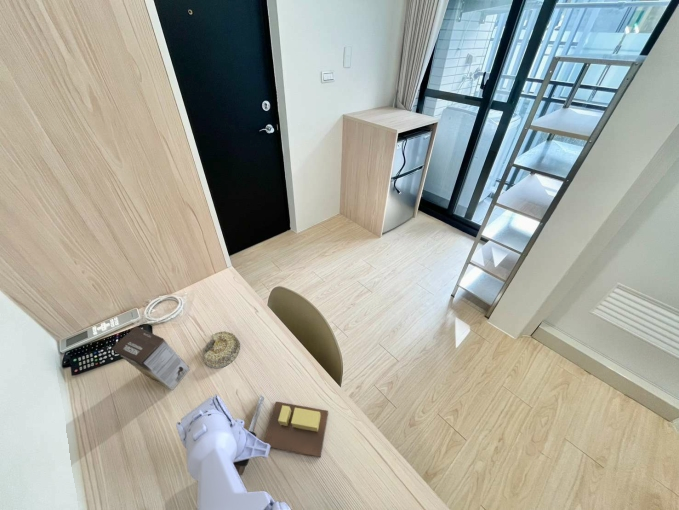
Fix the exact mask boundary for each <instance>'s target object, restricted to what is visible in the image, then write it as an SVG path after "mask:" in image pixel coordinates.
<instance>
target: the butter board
mask: <svg viewBox="0 0 679 510" xmlns="http://www.w3.org/2000/svg"><path fill="white" fill-rule="evenodd" d="M282 405H283V406H289V407H290V409H291V415H290V419H289V422H288V426H285V425H280V423H279V422H278V419H279V415H280V412H281V408H282ZM295 408H300V409H306V410H312V411H317V412H320V415H321V417H320V423H319V428H318V432H317V431H311V430H306V429H301V428H295V427H293V426H292V424H291V421H292V417H293V413H294V409H295ZM328 416H329V410H326V409H320V408H314V407H309V406H303V405H297V404H292V403H288V402H287V403H286V402H281V401H275V403H274V405H273V409H272V412H271V416H270V419H269V423H268V425H267V430H266V433H265V435H264V439H263V442H264V443H267V444H269V445H270V446H271V447H270V449H275V450H280V451H285V452H290V453H295V454H300V455H305V456H309V457H310V456H311V457H316V458H321V457H322V452H323V445H324V440H325V435H326V428H327V423H328Z"/></svg>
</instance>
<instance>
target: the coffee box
mask: <svg viewBox="0 0 679 510" xmlns="http://www.w3.org/2000/svg"><path fill="white" fill-rule="evenodd" d="M111 350H112V351H114V352H115V353H116V354H117V355H119V357H121V358H122V359H123V360H125V361H126V362H128V363H129V364H130V365H131V366H132V367H134V368H135V369H136V370H138V371H139V372H140V373H141V374H143V375H144V376H145V377H146V378H148V379H150V380H151V381H154V382H156V383H157V384H159V385H161V386H163V387H165V388H167V389H169V390H170V391H173V390H174V389H175V388H176V387H177V386H178V385H179V383H180V382H181V381H182V380H183V378H184V377H185V376H186V375H187V374H188V373H189V371H190V370H191V368H190V366H188V364H187V363H186V362H185V361H184V360H183V359H182V358H181V356H180V355H179V354H178V353H177V352H176V351H175V349H173V347H172V346H171V344H169V343H168V342H167V341H166V339H165V338H163V337H161V336H159V335H156V334H154V333H152V332H151V331H148V330H145V329H143V328H141V327H139V326H135V327H134V328H132V329H131V330H130V331H129V332H128V333H127V334H125V336H123V337H122V338H121V339H119V341H118V342H117V343H115V344H114V346H113V347H112V348H111Z"/></svg>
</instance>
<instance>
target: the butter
mask: <svg viewBox="0 0 679 510" xmlns="http://www.w3.org/2000/svg"><path fill="white" fill-rule="evenodd" d="M320 417H321V415H320V412H317V411H312V410H306V409H300V408H295V409H294V413H293V417H292V421H291V424H292V426H293V427H295V428H301V429H306V430H311V431H317V432H318V428H319V423H320Z"/></svg>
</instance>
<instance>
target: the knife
mask: <svg viewBox="0 0 679 510" xmlns="http://www.w3.org/2000/svg"><path fill="white" fill-rule="evenodd" d="M264 401H265V397H264V395H263V394H260V395H259V399H258V401H257V404H256V407H255V410H254V413H253V416H252V419H251V421H250V425H249V428H248V429H247V431H251V432H254V431H255V427H256V424H257V421H258V418H259V415H260V411H261V409H262V406H263V403H264ZM234 463H235V462H233V464H234ZM234 466H235V468H236V470H237V472H238V474H239V476H244V472H245V468H246V466H238V465H234Z"/></svg>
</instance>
